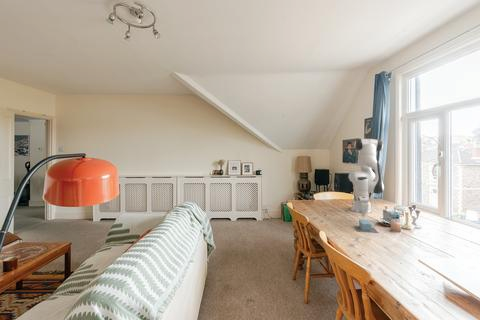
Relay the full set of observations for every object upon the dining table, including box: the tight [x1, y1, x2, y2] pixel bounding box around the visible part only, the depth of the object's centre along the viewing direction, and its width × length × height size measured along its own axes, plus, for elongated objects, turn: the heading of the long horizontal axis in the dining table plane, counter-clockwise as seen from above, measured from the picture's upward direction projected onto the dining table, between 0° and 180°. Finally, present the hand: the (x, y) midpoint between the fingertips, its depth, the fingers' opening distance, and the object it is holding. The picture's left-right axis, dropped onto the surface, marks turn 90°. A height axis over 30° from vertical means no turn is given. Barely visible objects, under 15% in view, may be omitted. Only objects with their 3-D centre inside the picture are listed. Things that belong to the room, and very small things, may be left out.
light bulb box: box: [382, 208, 401, 224], centre depth 171 cm, size 11×7×11 cm, turn 179°
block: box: [358, 219, 372, 231], centre depth 161 cm, size 5×6×10 cm
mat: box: [353, 225, 379, 234], centre depth 160 cm, size 11×14×1 cm
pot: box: [390, 221, 402, 233], centre depth 157 cm, size 6×6×6 cm
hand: (361, 214), depth 172 cm, fingers open, 8 cm apart
